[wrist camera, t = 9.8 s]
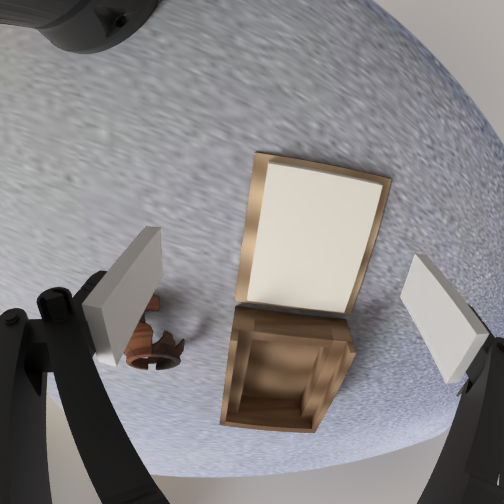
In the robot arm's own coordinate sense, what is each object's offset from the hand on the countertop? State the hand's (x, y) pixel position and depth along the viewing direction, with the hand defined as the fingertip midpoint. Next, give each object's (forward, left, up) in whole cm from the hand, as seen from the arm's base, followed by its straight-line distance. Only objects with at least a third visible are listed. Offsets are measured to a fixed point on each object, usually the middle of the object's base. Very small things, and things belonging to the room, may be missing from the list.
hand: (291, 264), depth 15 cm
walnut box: (+25, +5, -19) cm, 32 cm away
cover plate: (+6, +5, -18) cm, 20 cm away
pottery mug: (+22, -15, -19) cm, 32 cm away
